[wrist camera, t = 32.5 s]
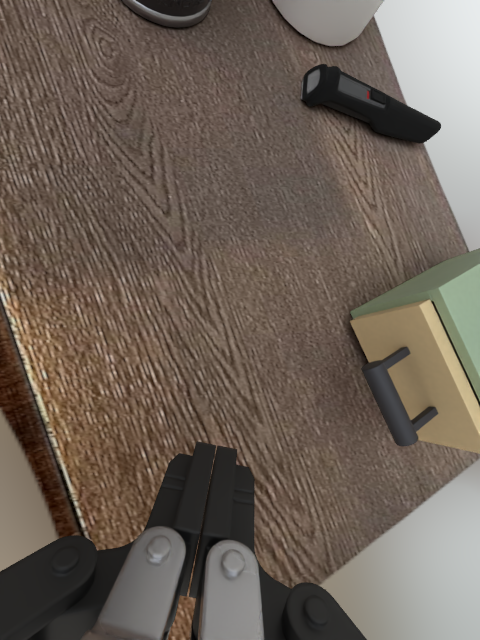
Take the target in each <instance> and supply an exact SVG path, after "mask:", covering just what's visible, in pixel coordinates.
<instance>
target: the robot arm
mask: <svg viewBox="0 0 480 640" xmlns="http://www.w3.org/2000/svg"><path fill="white" fill-rule="evenodd" d="M121 1H122V2H123V3H124V4H126V5H127V6H128V7H129V8H130V9H132V10H133V11H134V12H136V13H137V14H139V15H140V16H142V17H144V18H146V19H148V20H150V21H152V22H154V23H157V24H160V25H164V26H169V27H188V26H192V25H195V24H197V23H199V22H200V21H201V20H203V19H204V18H205V16H206V15H207V13H208V12H209V9H210V5H211V1H212V0H121ZM215 448H216V445H212V444H207V443H202V442H196V446H195V450H194V453H193V456H190V455H185V454H180V453H179V454H178V455H177V456H176V457H175V458H174V459H173V460H171V461H170V463H169V465H168V468H167V471H166V473H165V477H164V479H163V482H162V485H161V487H160V490H159V493H158V495H157V498H156V501H155V503H154V506H153V509H152V512H151V514H150V517H149V520H148V522H147V525H146V527H145V529H144V531H143V532H142V533H141V534H140V535H139V536H138V537H137V539H135V540H134V541H133V542H131V543H129V544H127V545H125V546H122V547H119V548H113V549H106V550H98V551H97V549H96V547H95V545H94V544H93V542H92V541H90V540H89V539H88V538H85V537H82V536H75V535H74V536H67V537H63V538H60V539H58V540H56V541H54V542H52V543H50V544H48V545H47V546H45V547H43V548H41V549H39V550H38V551H36V552H34V553H32V554H31V555H29V556H27V557H25V558H24V559H22V560H20V561H18V562H16V563H15V564H13V565H11V566H10V567H8V568H6V569H4V570H2V571H1V572H0V640H167V639H168V635H169V632H170V627H171V626H172V624H173V622H174V619H175V616H176V611H177V606H178V601H179V597H180V595H182V596H187V591H188V587H189V582H190V578H191V573H192V568H193V564H194V559H195V554H196V550H197V554H196V560H195V565H194V571H193V576H192V582H191V587H190V593H189V597H193V598H196V602H195V609H194V615H193V620H192V624H191V629H190V634H189V640H367V639H366V638H365V637H364V636H363V634H362V633H361V632H360V631H359V629H358V628H357V627H356V626H355V624H354V623H353V622H352V621H351V619H350V618H349V617H348V616H347V614H346V613H345V612H344V611H343V609H342V608H341V607H340V606H339V604H338V603H337V602H336V601H335V599H334V598H333V597H332V596H331V595H330V594H329V593H328V592H327V591H326V590H325V589H323V588H322V587H320V586H318V585H316V584H313V583H307V582H306V583H300V584H297V585H296V586H294V587H293V588H292V589H290V588H289V587H287V586H285V585H283V584H282V583H280V582H278V581H276V580H275V579H273V578H272V577H270V576H269V575H268V574H267V573H266V572H265V571H264V570H263V568H262V567H261V566H260V564H259V562H258V560H257V558H256V555H255V551H254V477H253V475H252V473H251V471H250V469H249V467H245V466H240V465H236V457H237V449H232V448H227V447H222V446H217V451H216V455H215V460H214V465H213V459H214V454H215ZM212 465H213V469H212ZM211 470H212V474H211ZM210 476H211V479H210ZM209 481H210V483H209ZM208 487H209V488H208ZM207 492H208V494H207ZM206 498H207V499H206ZM205 503H206V504H205ZM204 509H205V510H204ZM203 514H204V515H203ZM202 520H203V521H202ZM201 525H202V527H201ZM200 531H201V532H200ZM199 536H200V538H199ZM198 541H199V543H198ZM197 545H198V549H197Z"/></svg>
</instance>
